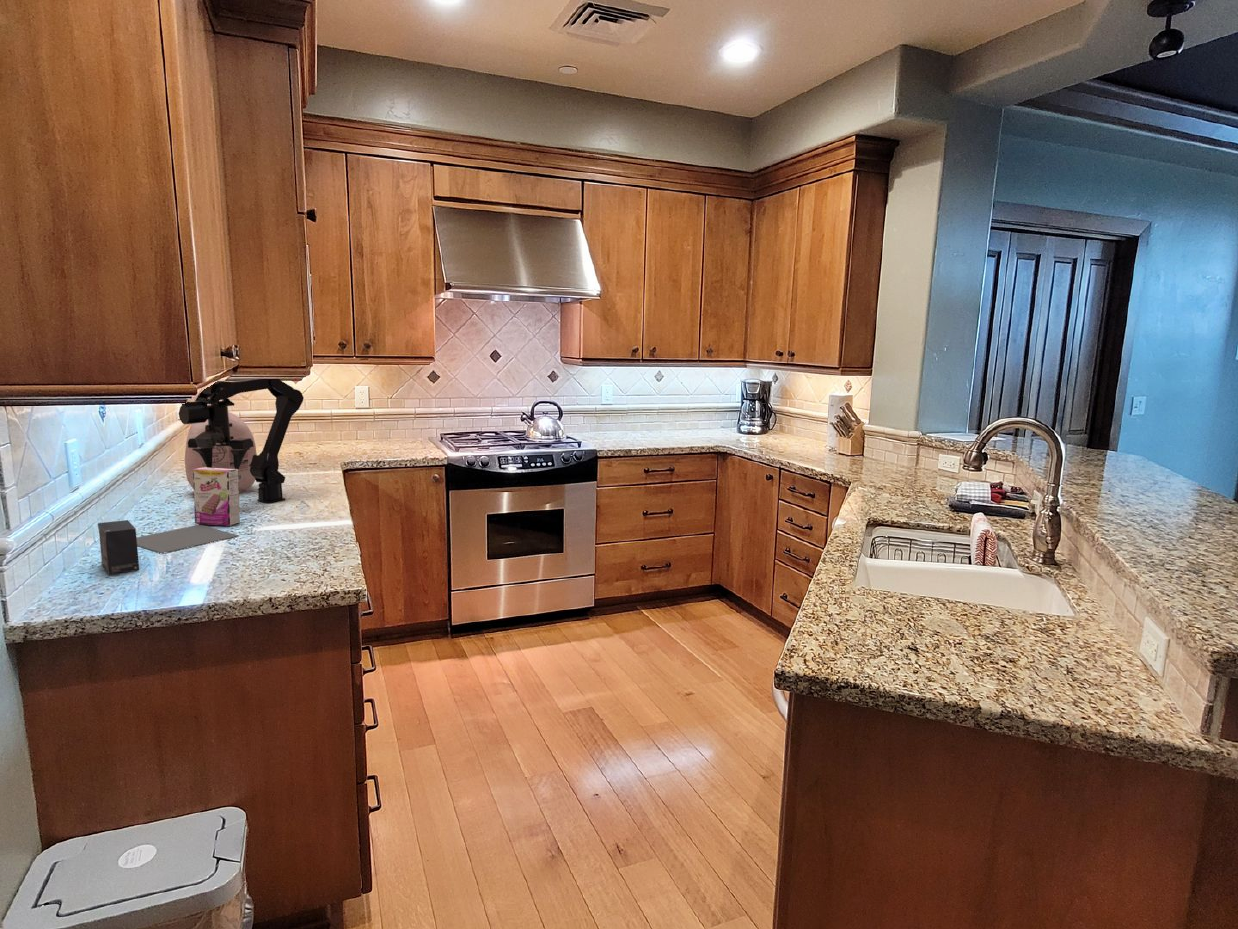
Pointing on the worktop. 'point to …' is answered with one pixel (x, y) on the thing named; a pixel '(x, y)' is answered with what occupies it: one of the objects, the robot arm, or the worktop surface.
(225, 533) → the mat
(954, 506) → the worktop surface
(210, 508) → the candy bar box
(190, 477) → the packaged food
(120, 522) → the small box
